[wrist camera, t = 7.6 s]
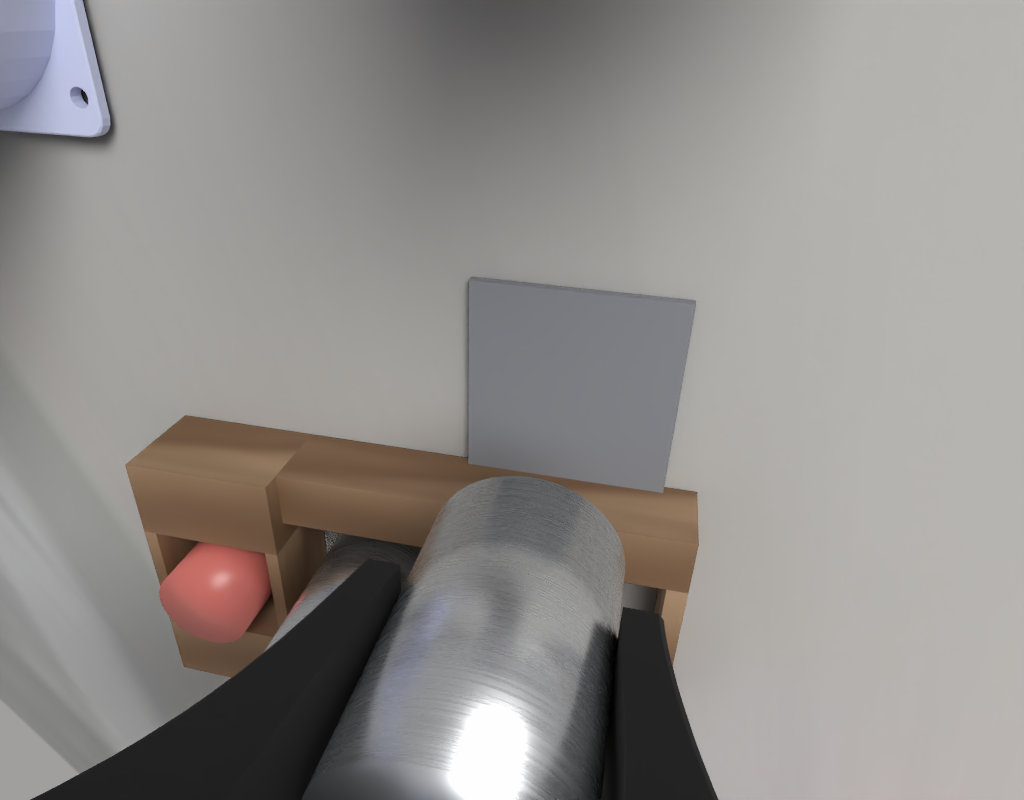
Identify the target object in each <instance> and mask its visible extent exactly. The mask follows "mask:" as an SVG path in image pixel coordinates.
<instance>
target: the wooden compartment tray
mask: <svg viewBox="0 0 1024 800" xmlns="http://www.w3.org/2000/svg"><path fill="white" fill-rule="evenodd" d="M125 466H126V469H127V473H128V476H129V479H130V483H131V486H132V490H133V493H134V497H135V500H136V504H137V507H138V510H139V514H140V517H141V521H142V524H143V528H144V531H145V535H146V538H147V541H148V545H149V548H150V552H151V555H152V559H153V562H154V565H155V569H156V572H157V576H158V579H159V583H160V586H161V584H162V582H163V581H164V580H165V579H166V578H167V576H168V575H169V574H170V573H171V572H172V571H173V570H174V569H175V568H176V566H177V565H178V564H179V563H180V562H181V561H182V560H183V559H184V558H185V557H186V555H187V554H188V553H189V552H190V551H191V550H192V549H193V548H194V547H195V545H196V544H197V543H198V542H199V541H200V542H205V543H211V544H216V545H222V546H227V547H233V548H238V549H244V550H249V551H255V552H260V553H265V556H266V561H267V567H268V572H269V578H270V583H271V588H272V594H271V595H270V597H269V598H268V600H267V601H266V603H265V604H264V606H263V607H262V608H261V610H260V611H259V613H258V614H257V616H256V617H255V618H254V620H253V621H252V623H251V624H250V626H249V627H248V628H247V630H246V631H245V633H244V634H243V635H242V636H241V637H240V638H239V639H237V640H235V641H233V642H228V643H215V642H210V641H206V640H203V639H200V638H198V637H196V636H194V635H192V634H190V633H188V632H187V631H185V630H184V629H182V628H181V627H180V626H179V625H177V624H176V623H175V622H174V621H173V620H172V619H171V618H170V620H171V624H172V627H173V631H174V634H175V638H176V641H177V645H178V648H179V651H180V655H181V658H182V662H183V665H184V667H186V668H191V669H196V670H200V671H205V672H210V673H214V674H219V675H224V676H228V677H233V676H235V675H236V674H237V673H238V672H240V671H241V670H242V669H243V668H245V667H246V666H247V665H248V664H250V663H251V662H252V661H253V660H255V659H256V658H257V657H258V656H260V655H261V654H262V653H263V652H264V651H265V650H266V648H267V646H268V645H269V643H270V642H271V640H272V639H273V637H274V636H275V634H276V633H277V631H278V629H279V628H280V626H281V625H282V623H283V622H284V620H285V619H286V617H287V616H288V614H289V613H290V611H291V609H292V608H293V606H294V605H295V603H296V602H297V600H298V599H299V597H300V596H301V594H302V592H303V591H304V589H305V588H306V586H307V585H308V583H309V582H310V580H311V579H312V577H313V576H314V574H315V572H316V571H317V569H318V568H319V566H320V565H321V563H322V562H323V560H324V559H325V557H326V555H327V552H326V544H325V536H324V530H325V531H331V532H336V533H342V534H348V535H354V536H360V537H365V538H371V539H377V540H383V541H388V542H394V543H400V544H406V545H411V546H417V547H423V545H424V543H425V541H426V538H427V536H428V534H429V532H430V530H431V528H432V526H433V524H434V522H435V520H436V518H437V516H438V513H439V512H440V510H441V509H442V507H443V505H444V504H445V503H446V502H447V501H448V500H449V499H450V497H451V496H453V495H454V494H455V493H457V492H458V491H459V490H461V489H462V488H464V487H466V486H468V485H470V484H472V483H475V482H477V481H480V480H483V479H487V478H491V477H499V476H527V477H534V478H539V479H543V480H547V481H550V482H553V483H556V484H559V485H561V486H564V487H566V488H568V489H570V490H572V491H574V492H576V493H577V494H579V495H581V496H582V497H584V498H585V499H587V500H588V501H589V502H591V503H592V504H593V505H594V506H595V507H597V508H598V509H599V510H600V511H601V512H602V513H603V514H604V515H605V517H606V518H607V519H608V520H609V521H610V523H611V524H612V526H613V527H614V529H615V531H616V532H617V534H618V536H619V539H620V541H621V543H622V547H623V550H624V555H625V576H624V582H625V583H630V584H636V585H642V586H648V587H654V588H658V592H657V598H656V603H655V608H654V613H657V614H659V615H660V616H661V617H662V618H663V620H664V626H665V633H666V639H667V644H668V649H669V654H670V658H671V663H672V666H673V661H674V656H675V652H676V647H677V643H678V638H679V633H680V629H681V624H682V619H683V615H684V610H685V606H686V601H687V596H688V592H689V587H690V582H691V578H692V573H693V569H694V564H695V559H696V555H697V550H698V545H699V540H698V506H697V492H692V491H685V490H679V489H672V488H665V487H664V490H663V493H659V492H652V491H646V490H639V489H633V488H626V487H619V486H613V485H606V484H600V483H593V482H586V481H580V480H573V479H567V478H560V477H553V476H547V475H540V474H534V473H527V472H520V471H514V470H507V469H501V468H494V467H487V466H481V465H474V464H468V458H465V457H459V456H452V455H445V454H439V453H432V452H425V451H419V450H412V449H405V448H399V447H392V446H385V445H379V444H372V443H365V442H359V441H352V440H345V439H339V438H332V437H325V436H319V435H312V434H305V433H299V432H292V431H285V430H279V429H272V428H265V427H259V426H252V425H245V424H239V423H232V422H225V421H219V420H212V419H205V418H199V417H192V416H184V417H183V418H182V419H180V420H179V421H178V422H177V423H175V424H174V425H173V426H172V427H171V428H169V429H168V430H167V431H166V432H165V433H163V434H162V435H161V436H160V437H158V438H157V439H156V440H155V441H154V442H152V443H151V444H150V445H149V446H148V447H146V448H145V449H144V450H143V451H141V452H140V453H139V454H138V455H137V456H135V457H134V458H133V459H132V460H131V461H129V462H128V463H127V464H126V465H125ZM169 617H170V616H169Z"/></svg>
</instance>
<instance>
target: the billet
mask: <svg viewBox="0 0 1024 800" xmlns="http://www.w3.org/2000/svg"><path fill="white" fill-rule="evenodd" d="M624 576H625V555H624V550H623V547H622V543H621V541H620V539H619V536H618V534H617V532H616V531H615V529H614V527H613V526H612V524H611V523H610V521H609V520H608V519H607V518H606V517H605V515H604V514H603V513H602V512H601V511H600V510H599V509H598V508H597V507H595V506H594V505H593V504H592V503H591V502H589V501H588V500H587V499H585V498H584V497H582V496H581V495H579V494H577V493H576V492H574V491H572V490H570V489H568V488H566V487H564V486H561V485H559V484H556V483H553V482H550V481H547V480H543V479H539V478H534V477H527V476H499V477H491V478H487V479H483V480H480V481H477V482H475V483H472V484H470V485H468V486H466V487H464V488H462V489H461V490H459V491H458V492H457V493H455V494H454V495H453V496H451V497H450V499H449V500H448V501H447V502H446V503H445V504H444V505H443V507H442V509H441V510H440V512H439V513H438V516H437V518H436V520H435V522H434V524H433V526H432V528H431V530H430V532H429V534H428V536H427V538H426V541H425V543H424V545H423V547H422V549H421V551H420V553H419V555H418V557H417V559H416V561H415V564H414V566H413V568H412V570H411V572H410V574H409V576H408V578H407V580H406V582H405V584H404V586H403V589H402V591H401V593H400V595H399V597H398V599H397V601H396V603H395V605H394V607H393V609H392V612H391V614H390V616H389V618H388V620H387V622H386V624H385V626H384V628H383V630H382V632H381V634H380V637H379V639H378V641H377V643H376V645H375V647H374V649H373V651H372V653H371V655H370V657H369V660H368V662H367V664H366V666H365V668H364V670H363V672H362V674H361V676H360V678H359V680H358V682H357V685H356V687H355V689H354V691H353V693H352V695H351V697H350V699H349V701H348V703H347V705H346V708H345V710H344V712H343V714H342V716H341V718H340V720H339V722H338V724H337V726H336V728H335V730H334V733H333V735H332V737H331V739H330V741H329V743H328V745H327V747H326V749H325V751H324V753H323V755H322V758H321V760H320V762H319V764H318V766H317V768H316V770H315V772H314V774H313V776H312V778H311V781H310V783H309V785H308V787H307V789H306V791H305V793H304V795H303V797H302V800H601V799H602V789H603V779H604V770H605V760H606V750H607V741H608V731H609V721H610V712H611V700H612V688H613V678H614V668H615V658H616V649H617V639H618V633H619V624H620V614H621V605H622V595H623V585H624Z"/></svg>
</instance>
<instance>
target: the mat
mask: <svg viewBox="0 0 1024 800" xmlns="http://www.w3.org/2000/svg"><path fill="white" fill-rule="evenodd" d="M695 307H696V301H694V300H685V299H675V298H666V297H657V296H647V295H638V294H628V293H619V292H610V291H600V290H591V289H581V288H572V287H562V286H553V285H544V284H534V283H525V282H515V281H506V280H497V279H487V278H478V277H471V278H470V280H469V392H468V464H474V465H481V466H487V467H494V468H501V469H507V470H514V471H520V472H527V473H534V474H540V475H547V476H553V477H560V478H567V479H573V480H580V481H586V482H593V483H600V484H606V485H613V486H619V487H626V488H633V489H639V490H646V491H652V492H659V493H663V490H664V485H665V479H666V473H667V467H668V462H669V456H670V450H671V445H672V439H673V433H674V427H675V422H676V416H677V410H678V405H679V399H680V393H681V387H682V382H683V376H684V370H685V365H686V359H687V353H688V347H689V342H690V336H691V330H692V325H693V319H694V313H695Z"/></svg>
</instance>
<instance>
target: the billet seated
mask: <svg viewBox="0 0 1024 800" xmlns="http://www.w3.org/2000/svg"><path fill="white" fill-rule="evenodd" d="M421 549H422V547H417V546H411V545H406V544H400V543H394V542H388V541H383V540H377V539H371V538H365V537H360V536H354V535H348V534H342V533H341V534H340V535H339V537H338V539H337V540H336V542H335V543H334V545H333V546H332V548H331V549H330V551H329V552H328V554H327V555H326V557H325V559H324V560H323V562H322V563H321V565H320V566H319V568H318V569H317V571H316V572H315V574H314V576H313V577H312V579H311V580H310V582H309V583H308V585H307V586H306V588H305V589H304V591H303V592H302V594H301V596H300V597H299V599H298V600H297V602H296V603H295V605H294V606H293V608H292V609H291V611H290V613H289V614H288V616H287V617H286V619H285V620H284V622H283V623H282V625H281V626H280V628H279V629H278V631H277V633H276V634H275V636H274V637H273V639H272V640H271V642H270V643H269V645H268V646H267V648H266V650H267V649H268V648H270V647H271V646H272V645H273V644H275V643H276V642H277V641H278V640H279V639H281V638H282V637H283V636H284V635H285V634H286V633H287V632H289V631H290V630H291V629H292V628H293V627H294V626H295V625H297V624H298V623H299V622H300V621H301V620H302V619H303V618H305V617H306V616H307V615H308V614H309V613H310V612H311V611H312V610H314V609H315V608H316V607H317V606H318V605H319V604H320V603H321V602H322V601H323V600H324V599H325V598H327V597H328V596H329V595H330V594H331V593H332V592H333V591H334V590H335V589H336V588H337V587H338V586H339V585H340V584H341V583H342V582H344V581H345V580H346V579H347V578H348V577H349V576H350V575H351V574H352V573H353V572H354V571H355V570H356V569H357V568H358V567H359V566H360V565H361V564H362V563H363V562H365V561H366V560H368V559H374V560H379V561H384V562H390V563H395V564H400V566H401V591H402V589H403V586H404V584H405V582H406V580H407V578H408V576H409V574H410V572H411V570H412V568H413V566H414V564H415V561H416V559H417V557H418V555H419V553H420V551H421ZM266 650H265V651H266ZM265 651H264V652H265Z"/></svg>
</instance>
